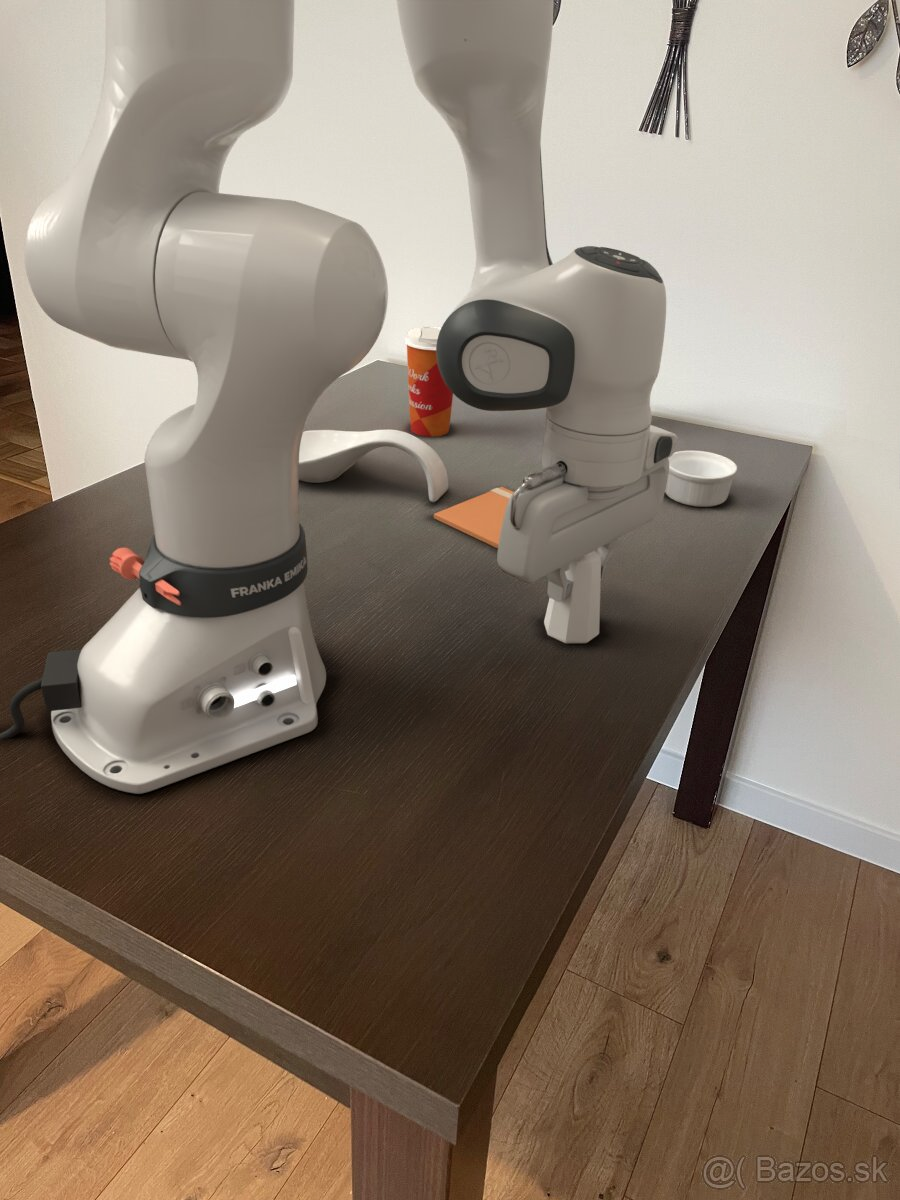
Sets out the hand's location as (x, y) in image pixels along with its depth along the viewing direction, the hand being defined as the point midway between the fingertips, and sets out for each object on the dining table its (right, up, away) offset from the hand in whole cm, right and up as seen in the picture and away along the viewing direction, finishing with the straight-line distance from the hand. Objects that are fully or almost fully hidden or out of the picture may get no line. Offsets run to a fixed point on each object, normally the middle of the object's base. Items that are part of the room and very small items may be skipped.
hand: (576, 588), depth 86 cm
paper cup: (-15, +23, +47) cm, 54 cm away
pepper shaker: (0, -4, +2) cm, 5 cm away
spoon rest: (-24, +14, +30) cm, 41 cm away
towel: (-5, +8, +22) cm, 23 cm away
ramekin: (+19, +12, +31) cm, 38 cm away
